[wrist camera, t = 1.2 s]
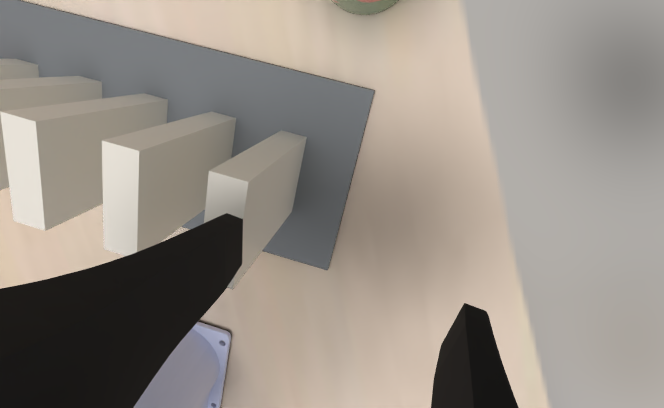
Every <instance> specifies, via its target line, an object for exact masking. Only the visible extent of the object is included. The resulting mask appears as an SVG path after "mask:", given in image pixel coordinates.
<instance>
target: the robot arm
mask: <svg viewBox="0 0 664 408" xmlns="http://www.w3.org/2000/svg"><path fill="white" fill-rule="evenodd" d="M242 247H243V219H241V218H239V217H236V216H233V215H231V214H228V213H226V214H223V215H221V216H219V217H217V218H214V219H212V220H210V221H208V222H206V223H204V224H201V225H199V226H197V227H195V228H193V229H191V230H188V231H186V232H184V233H182V234H179V235H177V236H175V237H173V238H170V239H168V240H166V241H164V242H161V243H159V244H156V245H154V246H151V247H149V248H146V249H144V250H141V251H139V252H136V253H134V254H131V255H128V256H126V257H123V258H120V259H117V260H114V261H111V262H108V263H105V264H102V265H98V266H95V267H92V268H89V269H85V270H81V271H77V272H74V273H70V274H66V275H62V276H58V277H54V278H50V279H46V280H42V281H37V282H33V283H28V284H23V285H18V286H13V287H8V288H2V289H0V408H220V407H221V400H222V394H223V387H224V381H225V374H226V367H227V361H228V354H229V348H230V341H231V335H230V333H229V332H228V331H226V330H222V329H219V328H216V327H213V326H210V325H207V324H204V323H201V322H198V321H199V320H200V319H201V317H202V316H203V315H204V314H205V313H206V312H207V311H208V309H209V308H210V307H211V306H212V305H213V304H214V302H215V301H216V300H217V299H218V298H219V297H220V295H221V294H222V293H223V292H224V291H225V289H226V288H227V286H228V285H229V284H230V282H231V281H232V279H233V278H234V276H235V275H236V273H237V271H238V270H239V268H240V267H241V265H242ZM223 341H224V342H223ZM431 408H518V405H517V403H516V400H515V397H514V395H513V392H512V389H511V386H510V384H509V381H508V378H507V375H506V373H505V370H504V367H503V364H502V361H501V358H500V354H499V351H498V348H497V345H496V341H495V338H494V335H493V331H492V327H491V324H490V320H489V316H488V314H487V312H486V311H484V310H481V309H479V308H476V307H474V306H471V305H468V304H466V303H464V305H463V307H462V309H461V310H460V312H459V314H458V316H457V318H456V319H455V321H454V323H453V325H452V327H451V328H450V330H449V332H448V334H447V336H446V338H445V339H444V341H443V343H442V345H441V349H440V353H439V358H438V362H437V367H436V372H435V376H434V384H433V394H432V404H431Z"/></svg>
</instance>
